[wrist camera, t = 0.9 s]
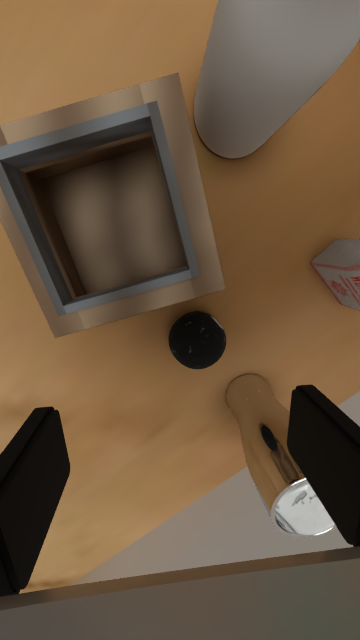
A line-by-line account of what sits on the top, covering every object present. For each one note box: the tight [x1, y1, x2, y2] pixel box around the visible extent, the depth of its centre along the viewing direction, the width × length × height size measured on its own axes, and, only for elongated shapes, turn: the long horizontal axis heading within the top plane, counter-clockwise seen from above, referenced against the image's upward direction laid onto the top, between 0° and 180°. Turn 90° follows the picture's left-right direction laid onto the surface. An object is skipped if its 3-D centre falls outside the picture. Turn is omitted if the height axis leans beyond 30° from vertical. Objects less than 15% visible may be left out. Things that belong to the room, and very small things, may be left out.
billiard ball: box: [169, 312, 226, 369], centre depth 27 cm, size 6×6×6 cm
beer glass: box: [225, 374, 337, 539], centre depth 26 cm, size 7×7×15 cm
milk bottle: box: [194, 0, 360, 158], centre depth 14 cm, size 8×8×20 cm
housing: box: [0, 73, 225, 338], centre depth 21 cm, size 14×14×11 cm
